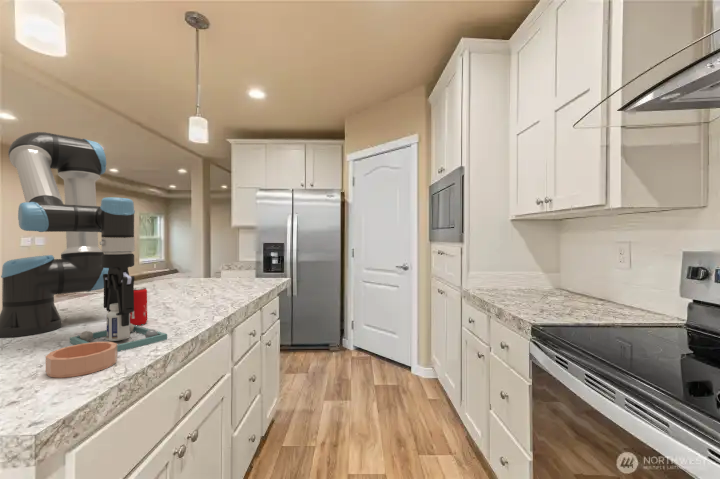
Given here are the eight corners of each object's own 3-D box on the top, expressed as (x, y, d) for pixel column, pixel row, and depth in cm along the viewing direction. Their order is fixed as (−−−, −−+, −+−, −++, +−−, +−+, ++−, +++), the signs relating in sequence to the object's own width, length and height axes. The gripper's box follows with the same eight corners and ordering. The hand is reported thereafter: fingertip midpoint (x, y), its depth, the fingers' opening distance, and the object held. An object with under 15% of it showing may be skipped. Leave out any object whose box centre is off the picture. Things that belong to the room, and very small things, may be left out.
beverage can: (130, 323, 115) (130, 288, 115) (148, 321, 117) (148, 287, 117) (127, 326, 110) (127, 290, 110) (146, 325, 112) (145, 289, 112)
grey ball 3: (143, 340, 95) (143, 330, 95) (154, 338, 97) (154, 327, 97) (148, 342, 93) (148, 331, 93) (159, 339, 96) (159, 329, 96)
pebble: (120, 333, 102) (120, 323, 102) (131, 331, 105) (131, 321, 105) (124, 334, 101) (124, 324, 101) (136, 332, 103) (135, 322, 103)
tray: (69, 342, 93) (69, 337, 93) (133, 329, 107) (133, 324, 107) (100, 356, 82) (100, 349, 82) (167, 339, 96) (167, 334, 96)
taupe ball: (77, 342, 94) (77, 331, 94) (90, 339, 96) (90, 329, 96) (82, 344, 92) (81, 333, 92) (95, 341, 94) (95, 330, 94)
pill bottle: (134, 335, 97) (134, 302, 97) (119, 341, 92) (119, 306, 92) (117, 335, 98) (117, 301, 98) (101, 341, 92) (101, 305, 92)
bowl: (38, 370, 74) (38, 352, 74) (103, 354, 84) (103, 338, 84) (58, 382, 67) (58, 363, 67) (126, 363, 77) (125, 347, 77)
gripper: (88, 252, 96) (89, 333, 97) (117, 254, 86) (118, 345, 87) (118, 251, 103) (118, 327, 103) (149, 253, 93) (149, 337, 93)
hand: (118, 335), depth 95 cm, fingers closed on pill bottle, 5 cm apart
